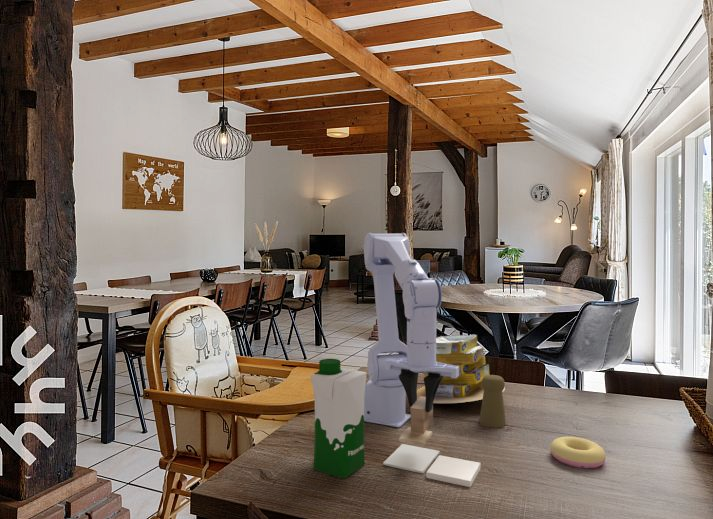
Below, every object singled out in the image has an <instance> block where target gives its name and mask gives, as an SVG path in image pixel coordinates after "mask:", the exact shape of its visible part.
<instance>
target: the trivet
mask: <svg viewBox="0 0 713 519" xmlns="http://www.w3.org/2000/svg"><path fill="white" fill-rule="evenodd" d="M440 453H441V452H440V450H436V449H431V448H427V447H426V448H425V447H423V446H418V445H416V446H415V445H412V444H411V445H410V444H407V443H401V444H400V445H399V446H398V448H396V449H395V450H394V451H393V452H392V453H391V454H390V456H389V457H387V458H386V459H385V460H384V461H383V463H382V465H383V466H387V467H391V468H396V469H399V470H405V471H409V472H414V473H418V474H424V473H425V472H427V470H428V469H429V468H430V465H432V464H433V463H434V461H435V460H436V459H437V458H438V456H439V455H440Z"/></svg>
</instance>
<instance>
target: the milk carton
mask: <svg viewBox="0 0 713 519" xmlns="http://www.w3.org/2000/svg"><path fill="white" fill-rule="evenodd" d="M318 369H319V370H317V372H314V373H313V374H311V375H310V381H311V385H312V386H311V387H312V392H313V395H314V448H313V449H314V450H313V468H312V469H313V470H315V471H317V472H321V473H325V474H327V475H330V476H331V475H332V476H334V477H337V478H342V479H343V480H345V479H346V478H348V477H349V476H351V475H352V474H353V473H355V472H357V471H358V470H359V469H360V468H362V467H363V466H364V465H365V421H364V393H365V385H366V383H367V382H366V381H367V375H368V371H367V372H366V371H361V370H357V369H353V368H346V367H342V366H341V360H340V359H338V358H324V359H320V360H319V362H318Z"/></svg>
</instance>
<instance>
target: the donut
mask: <svg viewBox="0 0 713 519" xmlns="http://www.w3.org/2000/svg"><path fill="white" fill-rule="evenodd" d="M549 449H550V452H551V454H552V456H553V457H554V458H555V459H556V460H557V461H559V462H561V463H563V464H565V465H567V466H571V467H574V468H580V469H596V468H599V467H601V466H602V465H603V464H604V463H605V462H606V458H607V455H606V452H605V450H604V449H603V448H602V446H600V445H599V444H597V443H596V442H593V441H591V440H589V439H586V438H583V437H579V436H577V437H575V436H561V437H557V438H555V439H554V440H552V442H551V443H550V448H549Z"/></svg>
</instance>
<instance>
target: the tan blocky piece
mask: <svg viewBox="0 0 713 519" xmlns="http://www.w3.org/2000/svg"><path fill="white" fill-rule="evenodd" d="M425 401H426V397H424V396H420V397H419V398H418V399H417V401H416V402H415V403H414V404H413V405H412V406H411V407H410V406H409V411H410V415H411V417H410V427H409V426H408V427H406V429H405V430H404V431H403V433H402V434H400V436H399V438H398V442H401V443H404V444H409V445H410V444H411V445H416V446H420V447H424V446H425V445H426V444H427V442H428V441H429V440H430V438H431V437H432V435H433V431H431V430H430V429H431V427H433V425H434V405H433V406H432V410H431V411H430V412H426V409H425Z"/></svg>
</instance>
